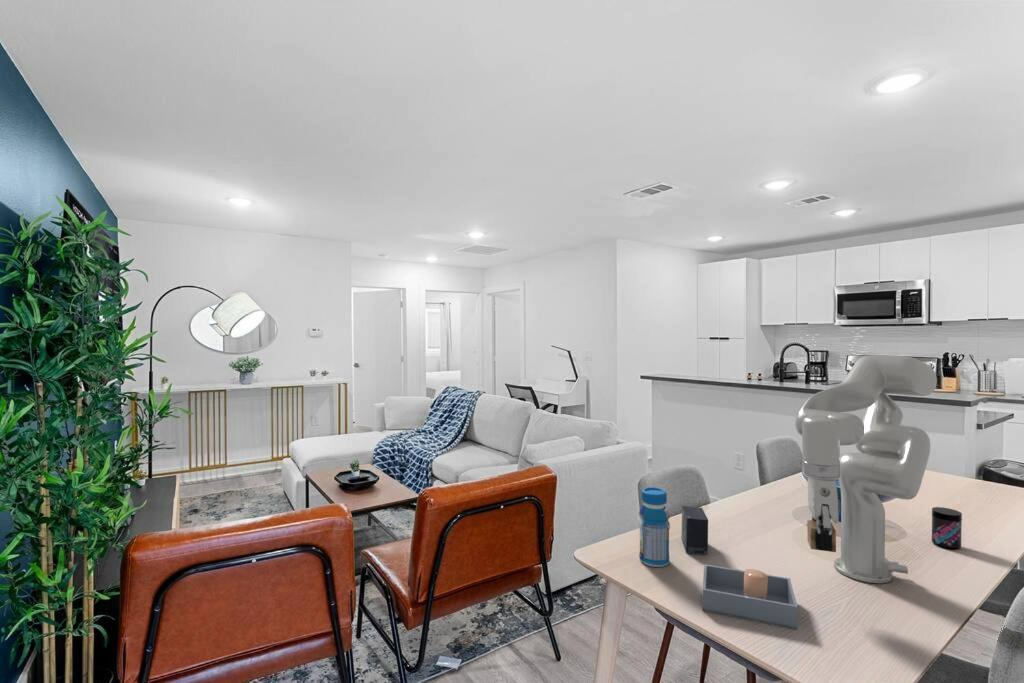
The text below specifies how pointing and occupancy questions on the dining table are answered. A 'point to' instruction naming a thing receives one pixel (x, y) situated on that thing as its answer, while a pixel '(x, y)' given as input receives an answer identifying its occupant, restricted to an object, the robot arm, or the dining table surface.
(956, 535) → the supplement container
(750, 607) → the tote
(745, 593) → the tan rounded smooth part
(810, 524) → the walnut cube
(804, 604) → the dining table surface
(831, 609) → the dining table surface
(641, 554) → the beverage bottle
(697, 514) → the small box
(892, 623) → the dining table surface
